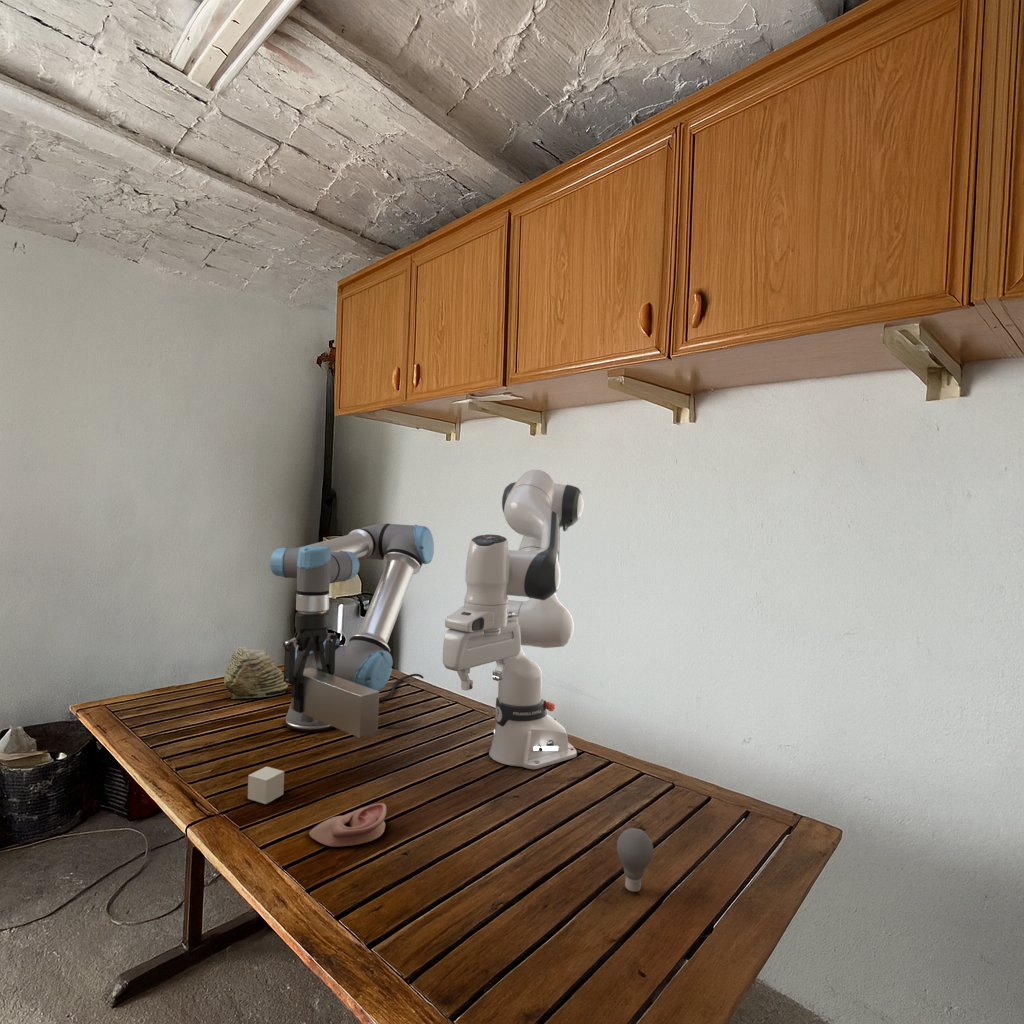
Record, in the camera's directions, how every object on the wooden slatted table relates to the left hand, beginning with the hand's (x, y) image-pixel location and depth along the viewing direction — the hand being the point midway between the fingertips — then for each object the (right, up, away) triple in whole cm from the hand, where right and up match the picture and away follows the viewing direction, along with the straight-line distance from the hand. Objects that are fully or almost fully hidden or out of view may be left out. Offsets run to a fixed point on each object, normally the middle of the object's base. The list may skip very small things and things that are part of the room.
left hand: (308, 708), depth 151 cm
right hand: (+43, +12, -24) cm, 50 cm away
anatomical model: (+17, -14, -31) cm, 38 cm away
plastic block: (-3, -13, -18) cm, 23 cm away
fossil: (-32, -10, +47) cm, 57 cm away
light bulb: (+69, -17, -45) cm, 84 cm away
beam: (+7, -1, -6) cm, 10 cm away
